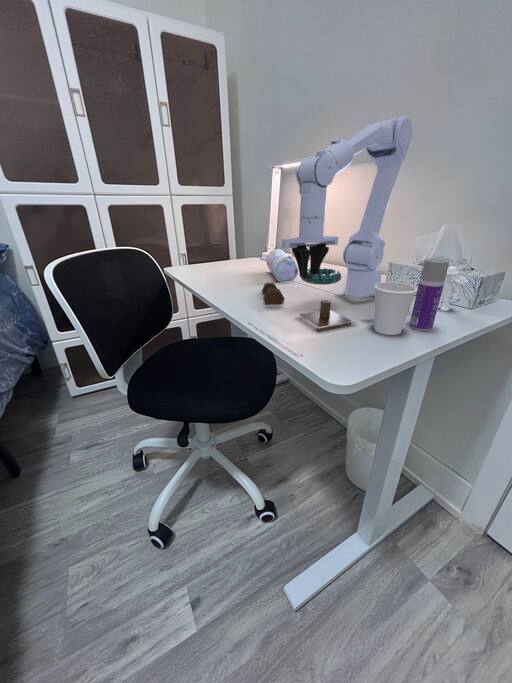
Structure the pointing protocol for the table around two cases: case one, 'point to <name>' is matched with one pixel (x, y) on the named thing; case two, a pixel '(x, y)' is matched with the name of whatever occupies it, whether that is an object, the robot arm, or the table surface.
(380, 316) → the dixie cup
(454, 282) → the hat wearing toy figure
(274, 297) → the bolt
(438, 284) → the container
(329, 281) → the ring
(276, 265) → the pencil case
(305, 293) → the table surface
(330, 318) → the post
